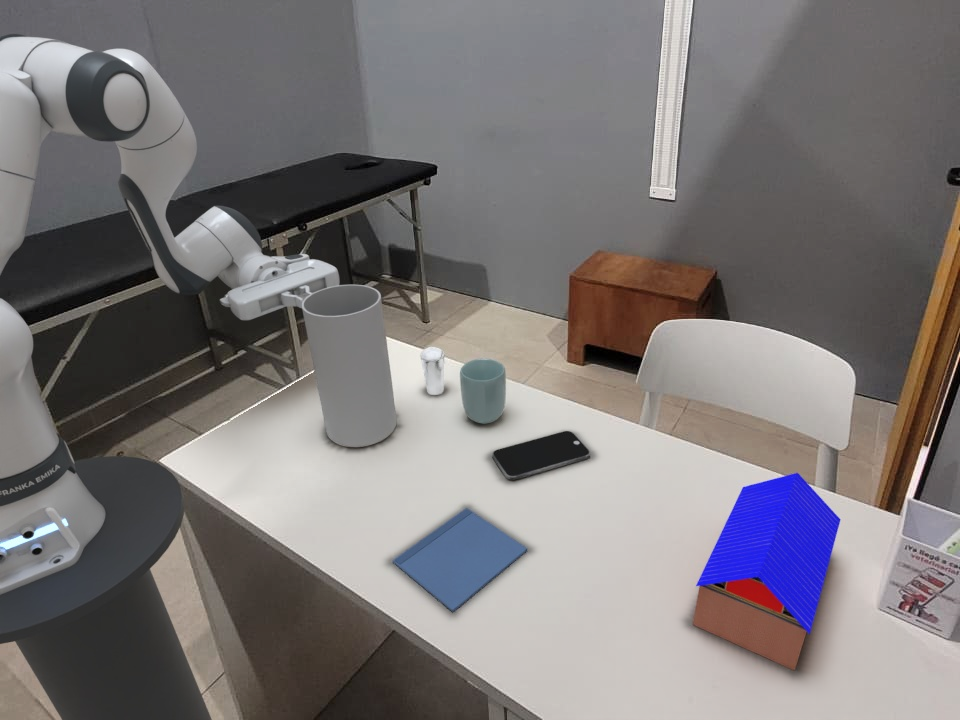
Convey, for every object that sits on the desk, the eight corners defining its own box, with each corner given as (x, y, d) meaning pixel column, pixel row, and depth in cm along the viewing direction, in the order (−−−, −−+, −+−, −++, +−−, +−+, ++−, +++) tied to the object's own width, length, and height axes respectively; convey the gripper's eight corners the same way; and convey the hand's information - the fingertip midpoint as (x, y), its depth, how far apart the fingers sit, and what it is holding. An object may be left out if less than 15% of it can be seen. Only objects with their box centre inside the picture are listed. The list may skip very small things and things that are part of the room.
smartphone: (593, 454, 105) (508, 478, 101) (592, 457, 106) (508, 482, 101) (570, 428, 112) (489, 450, 107) (570, 432, 112) (490, 454, 107)
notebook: (452, 612, 80) (452, 609, 80) (392, 562, 88) (392, 559, 88) (527, 550, 89) (527, 547, 89) (466, 509, 96) (466, 507, 96)
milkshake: (438, 401, 122) (434, 355, 117) (418, 391, 126) (414, 346, 121) (455, 391, 125) (451, 345, 120) (435, 382, 128) (431, 337, 124)
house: (689, 625, 77) (701, 554, 72) (735, 523, 92) (748, 457, 86) (797, 674, 71) (819, 601, 66) (828, 557, 85) (850, 488, 80)
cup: (487, 434, 112) (485, 385, 108) (454, 419, 117) (450, 371, 112) (514, 414, 117) (514, 366, 113) (482, 400, 122) (480, 354, 117)
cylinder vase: (318, 449, 111) (291, 317, 98) (336, 408, 122) (313, 285, 109) (391, 449, 110) (372, 316, 98) (402, 408, 121) (386, 283, 109)
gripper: (211, 283, 113) (249, 304, 105) (311, 250, 125) (353, 267, 117) (219, 315, 116) (257, 339, 108) (317, 281, 129) (358, 299, 120)
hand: (308, 301), depth 112 cm, fingers closed
